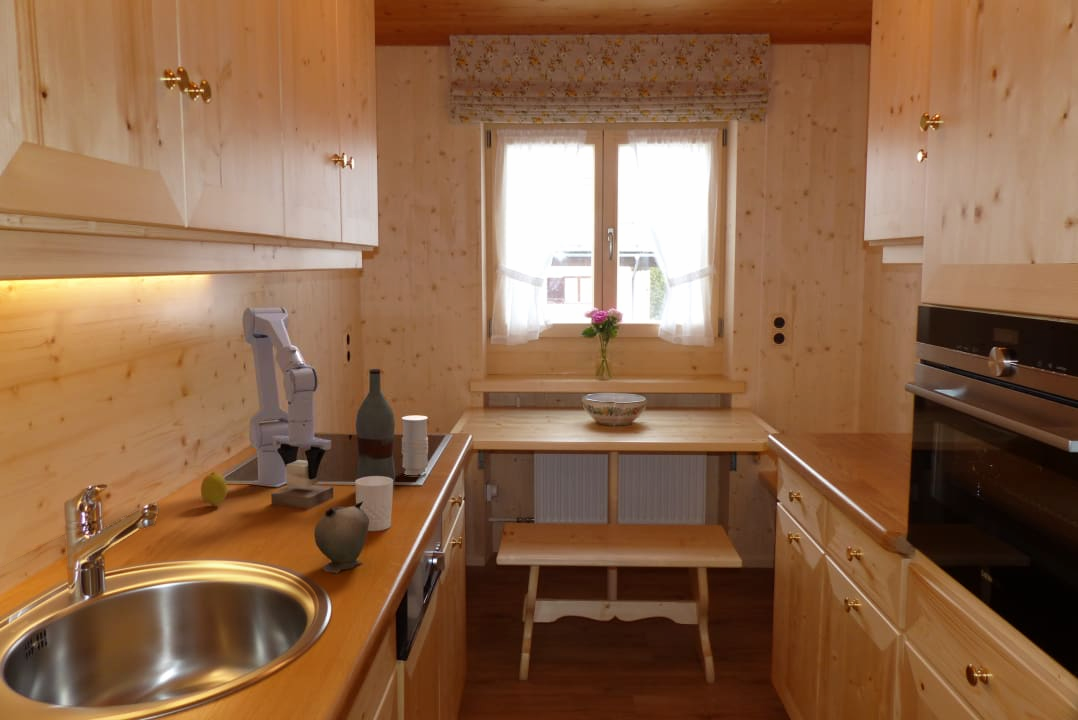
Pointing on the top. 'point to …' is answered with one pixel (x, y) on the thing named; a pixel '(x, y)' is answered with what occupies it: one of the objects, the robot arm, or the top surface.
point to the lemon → (214, 488)
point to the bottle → (375, 433)
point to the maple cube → (298, 474)
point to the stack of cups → (414, 444)
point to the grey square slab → (302, 496)
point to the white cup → (375, 500)
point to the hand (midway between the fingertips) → (302, 477)
